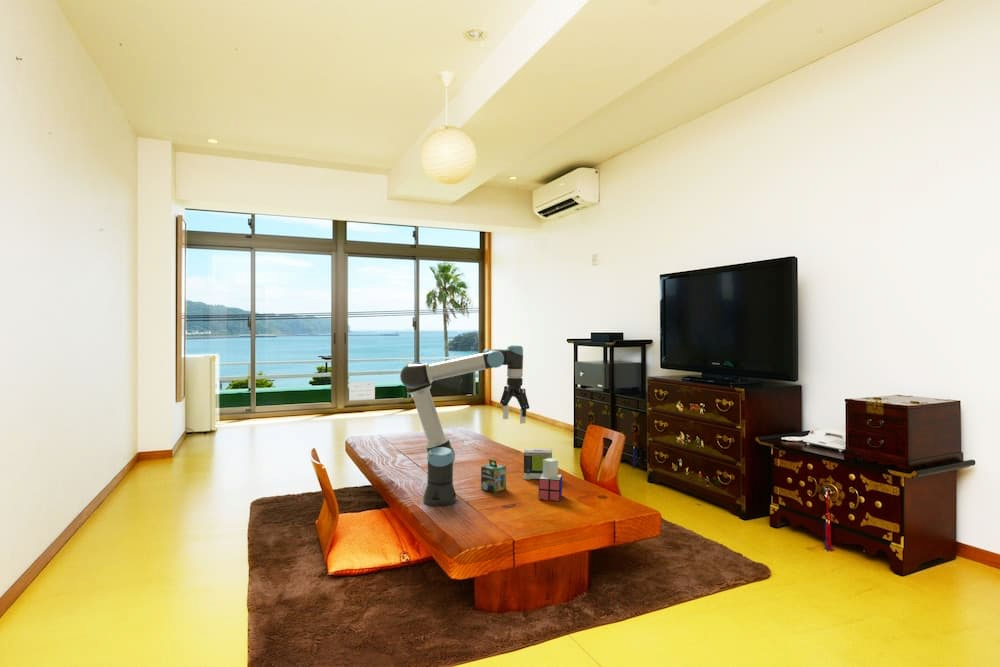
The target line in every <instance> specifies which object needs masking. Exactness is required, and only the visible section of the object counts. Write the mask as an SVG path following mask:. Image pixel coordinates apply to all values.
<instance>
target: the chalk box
mask: <svg viewBox="0 0 1000 667" xmlns="http://www.w3.org/2000/svg"><path fill="white" fill-rule="evenodd" d="M480 471H481V472H480V482H481V483H480V485H481V487H480V488H481V489H480V490H482V491H483V490H484V491H486V492H490V493H492V492H493V494H495V493H498V492H500V491H504V490H506V489H507V466H505V465H502V464H497V461H496V460H494V459H490V458H489V459H488V464H486V465H482V466H481V468H480Z"/></svg>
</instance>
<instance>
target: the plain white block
mask: <svg viewBox="0 0 1000 667" xmlns="http://www.w3.org/2000/svg"><path fill="white" fill-rule="evenodd" d="M558 473H559V460H558V459H555V458H553V457H552V458H549V459H543V477H546V478H549V479H551V478H556V477H558V475H559V474H558Z"/></svg>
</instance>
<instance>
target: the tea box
mask: <svg viewBox="0 0 1000 667" xmlns="http://www.w3.org/2000/svg"><path fill="white" fill-rule="evenodd" d="M549 458H552V459H553V449H552V448H524V452H523V480H530V479H539V478H540V476H541V474H542V473H543V459H549Z"/></svg>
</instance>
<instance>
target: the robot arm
mask: <svg viewBox="0 0 1000 667" xmlns="http://www.w3.org/2000/svg"><path fill="white" fill-rule="evenodd" d="M501 366H507V368H506V377H507V379H506V385H504V387H503V388H504V389H503V393H502V395H501V398H500V401H499V403H500V405H501V406H502V419H503V420H508V419H509V403H510V401H511V399H512V398H515V399H516V400H517V402H518V404H519V406H520V411H519V412H520V413H519V424H520V425H522V424H526V422H527V421H526V417H527V410H529V409H530V405H529V400H528V397H527V396H528V395H527V394H526V388H522V386H523V383H524V382H523V378H522V377H523V370H524V369H523V367H524V347H523V346H522V345H508V346H507V348H506V349H500V348H499V349H497V348H496V349H494V348H493V349H492V348H489V349H487V348H486V349H484V350H483V351H482V353H478V354H473V355H469V356H464V357H460V358H455V359H450V360H445V361H440V362H435V363H432V364H431V363H430V364H429V363H428V362H425V363H422V362H419V361H411V362H410V363H408V364H406V365H405V366H404V367H402V369H401V371H400V376H399V378H400V381H401V383H402V385H403V386H404V387H406V390H407V394H409V395H411V396H412V398H413V400H414V401H413V402H414V405H415V408H416V410H417V414H418V417H419V420H420V423H421V427H422V429H423V431H424V435H425V438H426V441H427V444H426V445H425V448H426V452H427V458H426V459H427V479H426V480H427V484H426V487H425V490H424V493H423V497H422V502H423V503H424V504H426V505H428V506H435V507H442V506H443V507H445V506H450V505H453V504H455V503H456V502H457V494H456V489H455V487H454V462H455V460H456V459H455V458H456V453H455V450H454V448H453V447H452V444H451V442H450V439H449V438H448V437H446V436H445V433H444V431H443V426H442V423H441V421H440V419H439V418H440V417H439V415H438V412H437V409H436V406H435V403H434V399H433V396H432V394H431V391H430V390H431V388H432V383H433V382H434V381H438V380H443V379H447V378H448V379H449V378H453V377H456V376H461V375H466V374H469V373H474V372H478V371H483V370H487V369H493V368H494V369H496V368H500V367H501Z"/></svg>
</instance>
